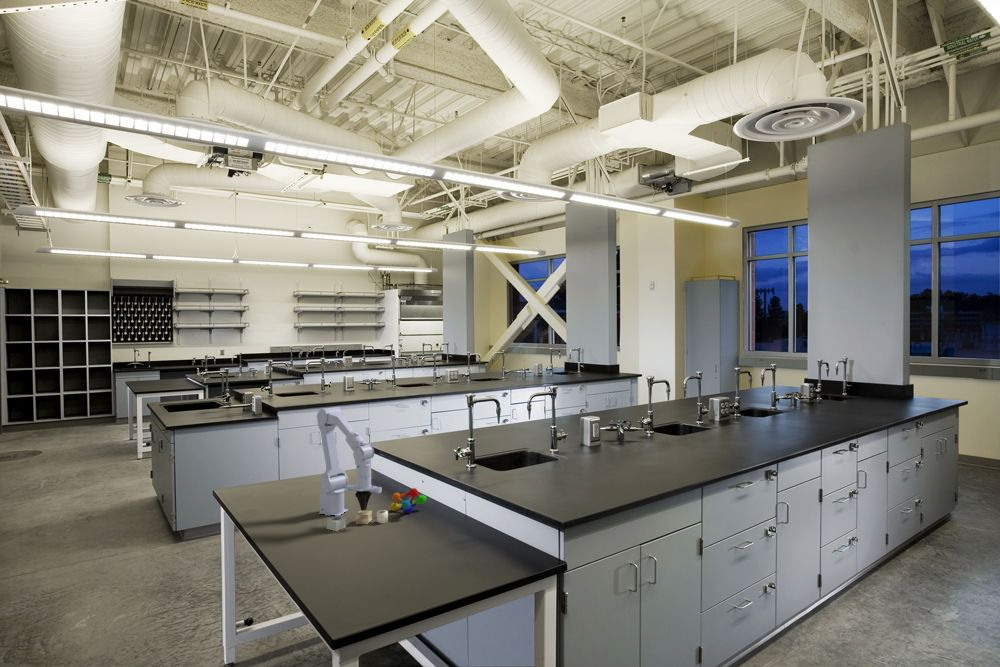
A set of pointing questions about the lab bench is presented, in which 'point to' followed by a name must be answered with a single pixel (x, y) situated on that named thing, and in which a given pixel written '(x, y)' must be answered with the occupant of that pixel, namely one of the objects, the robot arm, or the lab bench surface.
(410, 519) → the lab bench surface
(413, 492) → the molecular model
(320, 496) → the robot arm
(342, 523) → the grey labelled block
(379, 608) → the lab bench surface
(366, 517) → the beech block
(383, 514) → the offwhite stopper
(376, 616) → the lab bench surface
